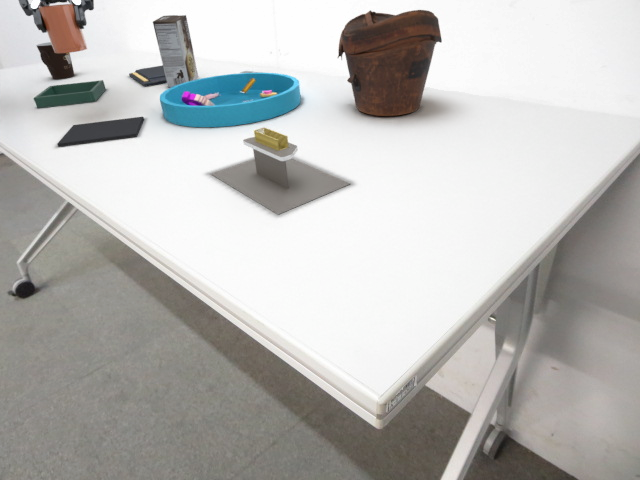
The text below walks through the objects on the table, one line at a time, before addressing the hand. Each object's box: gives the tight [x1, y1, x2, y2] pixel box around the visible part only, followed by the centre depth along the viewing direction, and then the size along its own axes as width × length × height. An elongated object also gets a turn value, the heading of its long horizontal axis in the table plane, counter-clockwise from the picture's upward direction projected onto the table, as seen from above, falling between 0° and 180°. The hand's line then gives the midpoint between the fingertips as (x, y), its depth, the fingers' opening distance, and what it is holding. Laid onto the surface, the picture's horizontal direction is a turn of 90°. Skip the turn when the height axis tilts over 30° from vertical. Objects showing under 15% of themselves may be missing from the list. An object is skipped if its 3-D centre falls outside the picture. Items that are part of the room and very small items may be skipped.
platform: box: [210, 126, 351, 215], centre depth 61 cm, size 12×18×7 cm, turn 39°
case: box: [337, 9, 443, 117], centre depth 85 cm, size 18×20×18 cm
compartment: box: [33, 79, 107, 109], centre depth 114 cm, size 14×14×2 cm
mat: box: [56, 116, 145, 148], centre depth 88 cm, size 14×12×1 cm
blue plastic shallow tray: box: [159, 72, 301, 128], centre depth 97 cm, size 30×30×6 cm
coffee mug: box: [36, 41, 75, 80], centre depth 138 cm, size 12×9×10 cm
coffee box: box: [152, 14, 199, 88], centre depth 117 cm, size 9×6×16 cm
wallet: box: [128, 64, 167, 87], centre depth 131 cm, size 20×2×15 cm
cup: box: [38, 3, 88, 54], centre depth 87 cm, size 6×6×8 cm
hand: (62, 27), depth 85 cm, fingers closed on cup, 6 cm apart
